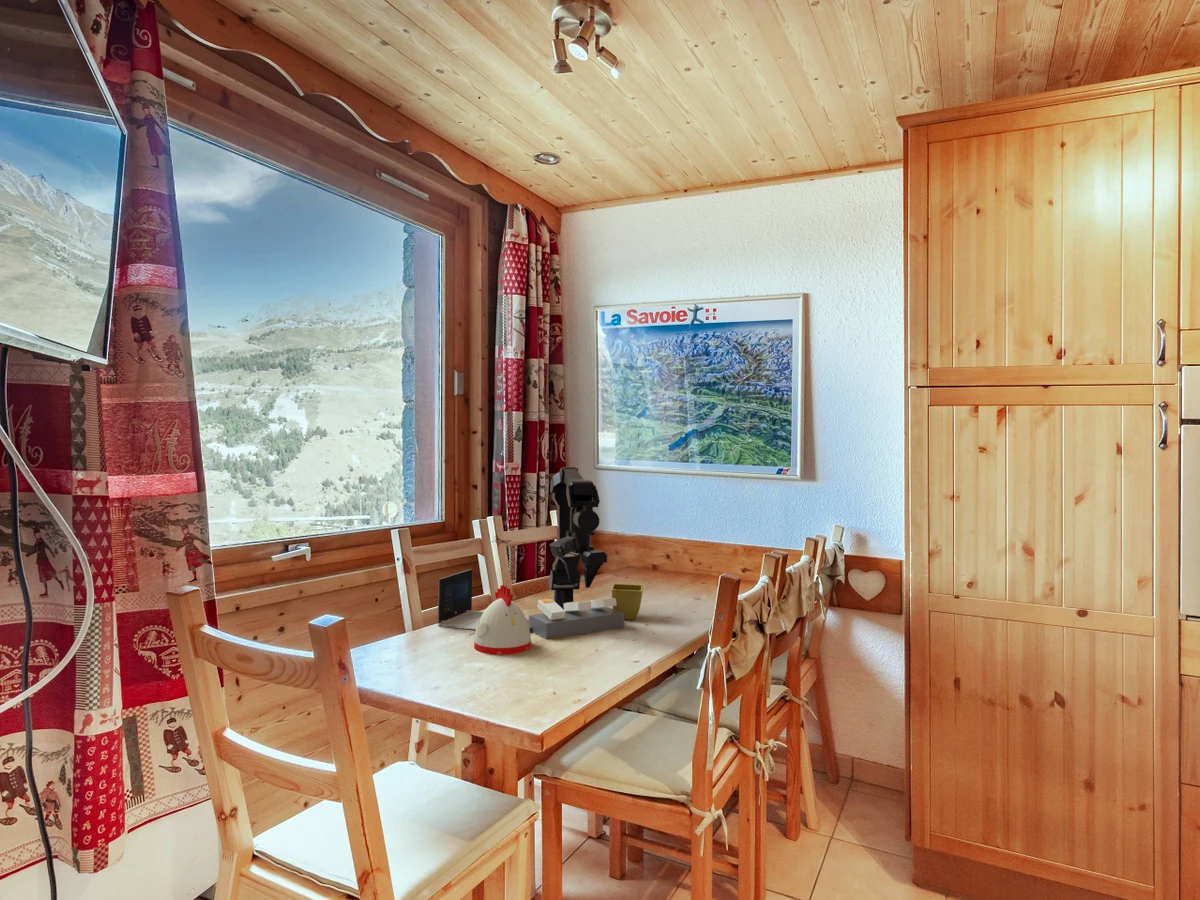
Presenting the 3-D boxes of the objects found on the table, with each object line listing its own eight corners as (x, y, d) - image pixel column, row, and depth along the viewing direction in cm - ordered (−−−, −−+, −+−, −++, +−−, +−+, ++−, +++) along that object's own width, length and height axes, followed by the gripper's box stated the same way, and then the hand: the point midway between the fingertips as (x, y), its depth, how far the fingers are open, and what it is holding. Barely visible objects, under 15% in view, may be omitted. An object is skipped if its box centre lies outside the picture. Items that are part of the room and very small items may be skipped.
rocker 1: (537, 607, 192) (538, 599, 192) (550, 605, 194) (551, 598, 194) (550, 620, 186) (551, 612, 185) (564, 618, 188) (565, 610, 187)
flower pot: (642, 615, 211) (643, 584, 211) (641, 622, 203) (642, 590, 203) (612, 613, 212) (613, 583, 212) (610, 621, 204) (610, 589, 203)
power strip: (508, 632, 189) (508, 617, 189) (604, 619, 205) (604, 605, 205) (524, 642, 180) (525, 626, 180) (624, 627, 196) (624, 613, 196)
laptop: (477, 631, 190) (478, 582, 190) (437, 627, 194) (437, 579, 194) (508, 617, 207) (509, 571, 207) (470, 612, 211) (471, 568, 211)
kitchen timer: (488, 658, 167) (489, 593, 166) (465, 643, 178) (466, 583, 178) (541, 649, 174) (542, 587, 174) (515, 636, 186) (516, 578, 186)
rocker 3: (589, 607, 200) (588, 600, 201) (601, 606, 202) (600, 598, 203) (604, 607, 194) (603, 598, 194) (616, 605, 196) (615, 597, 196)
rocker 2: (564, 610, 196) (563, 602, 196) (576, 609, 198) (576, 601, 199) (578, 610, 189) (577, 601, 190) (591, 608, 192) (590, 600, 192)
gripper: (537, 525, 197) (536, 581, 197) (573, 533, 182) (571, 594, 182) (572, 523, 203) (571, 578, 203) (609, 530, 188) (608, 590, 188)
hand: (579, 584), depth 194 cm, fingers open, 8 cm apart
